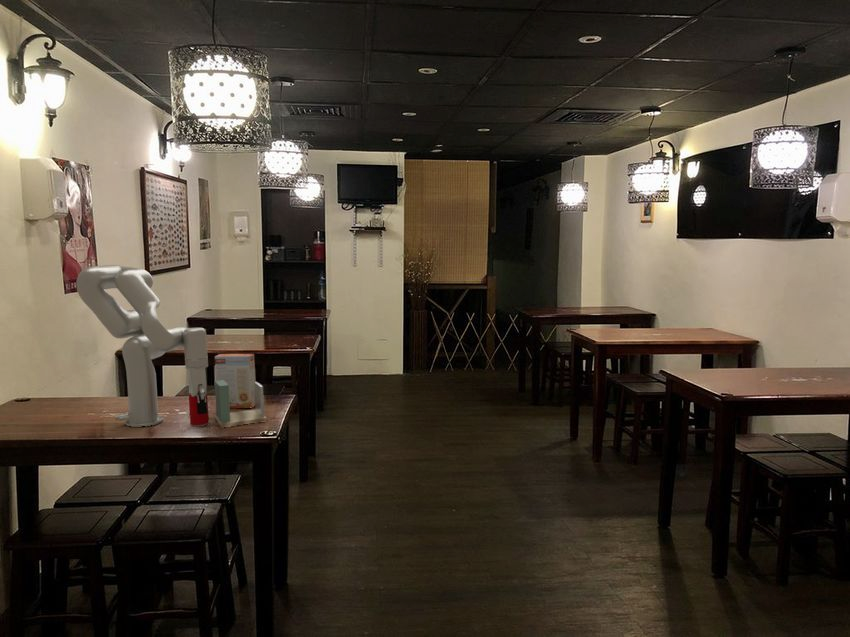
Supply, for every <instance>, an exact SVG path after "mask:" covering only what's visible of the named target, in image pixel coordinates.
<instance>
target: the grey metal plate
mask: <svg viewBox="0 0 850 637" xmlns="http://www.w3.org/2000/svg"><path fill="white" fill-rule="evenodd" d="M254 386H255V407H254V410H256V412H257V413H258V414H259V415H260V416H261V417H263V416H264V415H265V406H264V405H265V404H264V386H263V385H262V384H261V383H259V382H258V381H255V382H254Z"/></svg>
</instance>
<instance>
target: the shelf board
mask: <svg viewBox="0 0 850 637" xmlns="http://www.w3.org/2000/svg"><path fill="white" fill-rule="evenodd" d="M213 419H214V420H216V421H217V422H216V421H215V422H216V423H217V424H218V426H219V425H220V426H219V427H220V429H225V428H224V427H226V428H232V427H231V426H234V427H238V426H237V425H241V426H244V425H243V424H248V425H250V424H249V423H255V422H261V421H267V422H268V417H267V416H266V415H265V414H264V416H263V417H261V416H260V415H259V414H258V413H257V412H256V410H255V409H246V410H240V411H239V410H238V411H234V412H232V411H230V421H228V422H221V421H220V420H219V419H218V417H217V416H216V413H215V414H213ZM255 424H256V423H255Z"/></svg>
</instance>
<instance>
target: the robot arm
mask: <svg viewBox="0 0 850 637" xmlns="http://www.w3.org/2000/svg"><path fill="white" fill-rule="evenodd" d="M75 283H76V284H75V285H76V290H77V294H78V296H79V297H80V299H81V301H82V302H83V303H84V304H85V305H86V306H87V307H88V308H89V309H90V310H91V311H92V313H93V314H94V315H95V316H96V317H97V319H98V320H99V322H100V323H101V324H102V325H103V326H104V328H105V329H106V330H107V331H108V332H109V335H111V336H112V337H114V338H115V339H121V340H122V339H127V338H128V339H127V340H125V341H124V343H123V345H122V350H121V351H122V358H123V361H124V365H125V371H126V382H127V383H126V384H127V398H128V410H127V412H124V413H123V414H121V413H119V414H115V416H114V417H115V418H114V419H115V421H124V424H126V425H127V427H129V426H131V428H142V426H145V427H151V425H152V426H155V425H159V424H161V423H162V422H163V421H164V417H163V416H162V415H159V404H158V388H157V373H156V369H155V366H154V362H153V361H152V360H155V359H157V358H160V357H162V356H163V355H164V354H166V352H171V351H175V350H177V349H181V348H183V349H184V350H183V351H184V365H185V369H186V370H187V371H188V372H187V373H188V374H187V375H188V376H187V377H188V393H189V394H190V393H191V396H192V397H195V396H197V402H198V403H197V413H198V414H206V413H207V402H206V397H205V396H206V395H207V396H208V388H207V374H206V372H207V371H206V368H208V367H209V359H208V357H209V356H208V343H207V342H208V341H207V332H206V329H205V328H203V327H185V326H175V327H170V328H166V327H165V326H164V324H163V323H162V322H161V321H160V319H159V318H158V314H157V309H158V308H159V306H160V304H161V301H160V299H159V297H157V295H156V294H155V293H154V291H153V290H152V289H151V288H152V287H153V284H154V280H153V276H152V275H151V274H150V272H148V271H147V270H145V269H144V268H137V267H131V266H130V267H129V266H122V265H117V264H111V265H110V264H109V265H107V264H106V265H94V266H89V267H86V268H84V269H82V270H81V271H80V272H79V273H78V276H77V278H76V282H75ZM110 289H112V290H113V289H117V290H118V291H119V293H120V294H121V295H122V296H123V297H124V299H125V300H126V301H127V302H128V304H130V306H131V307H132V309H130V310H129V309H128V310H126V309H125V308H124V307H123V306H122V305H121V304H120V303H119V302H118V300H117V299H116V298H114V297H113V296H112V295H110V294H109V293H108V292H106V291H105V290H110Z"/></svg>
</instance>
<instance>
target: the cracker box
mask: <svg viewBox="0 0 850 637" xmlns="http://www.w3.org/2000/svg"><path fill="white" fill-rule="evenodd" d="M255 364H256V363H255V354H254V353H219V354H217V355H215V356H214V366H215V368H214V370H215V381H217V380H224V381H225V382H226V383H227V384H228V385H229V405H230V409H236V408H250V407H253V406H255V386H254V382H256V367H255V366H256V365H255ZM253 408H254V407H253Z"/></svg>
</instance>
